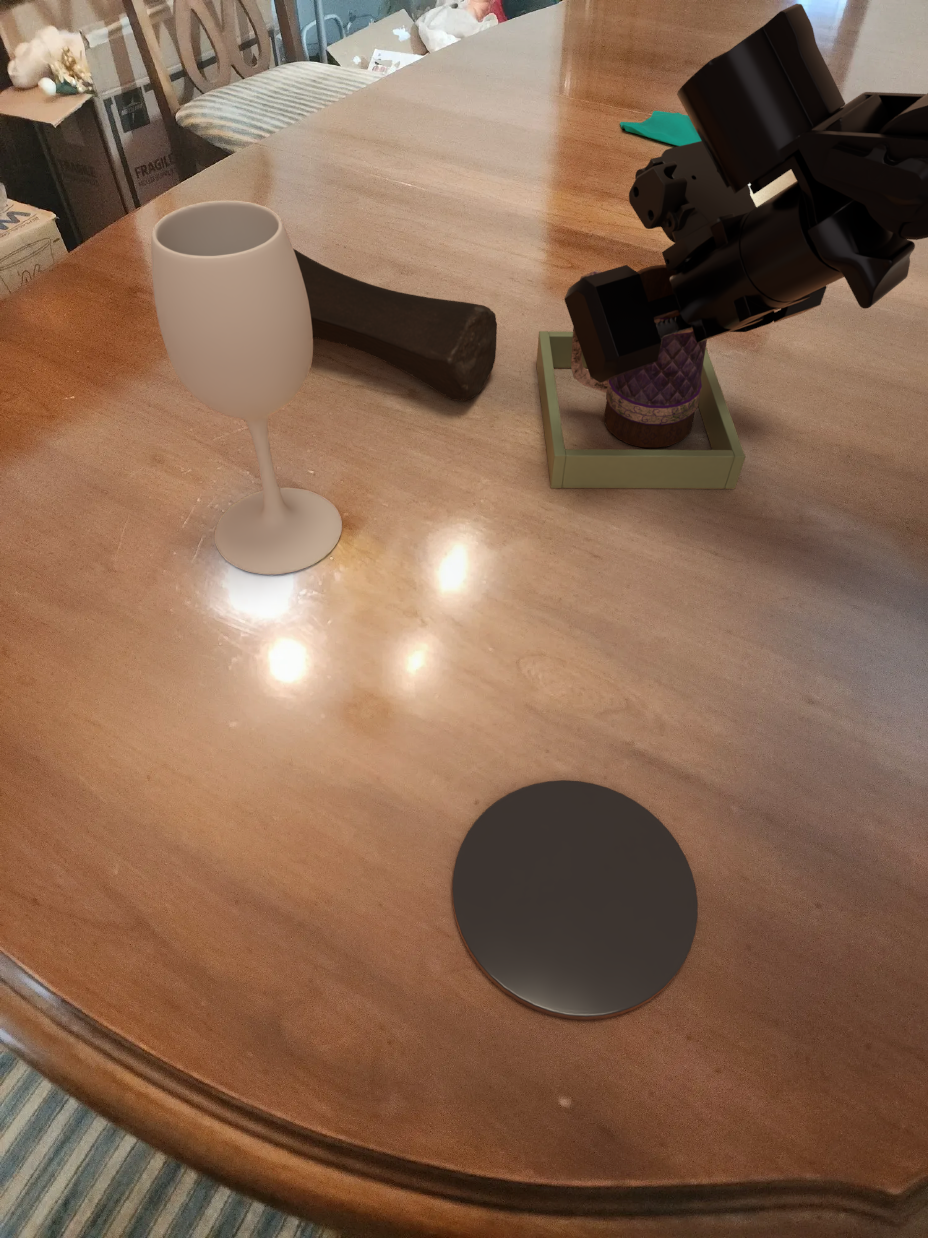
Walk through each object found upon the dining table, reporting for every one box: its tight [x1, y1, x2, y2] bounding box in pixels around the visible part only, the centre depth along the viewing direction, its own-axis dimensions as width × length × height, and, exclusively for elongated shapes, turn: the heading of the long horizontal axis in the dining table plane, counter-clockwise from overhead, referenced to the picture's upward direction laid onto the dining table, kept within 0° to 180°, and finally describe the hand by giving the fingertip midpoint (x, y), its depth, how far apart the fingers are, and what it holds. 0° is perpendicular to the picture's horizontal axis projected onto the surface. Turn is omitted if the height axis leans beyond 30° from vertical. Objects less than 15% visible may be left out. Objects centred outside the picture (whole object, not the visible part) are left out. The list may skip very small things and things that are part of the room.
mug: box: [570, 264, 708, 449], centre depth 63 cm, size 10×7×12 cm
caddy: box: [535, 330, 746, 490], centre depth 67 cm, size 14×17×3 cm
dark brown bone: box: [293, 247, 498, 401], centre depth 71 cm, size 11×10×28 cm
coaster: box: [451, 779, 699, 1021], centre depth 42 cm, size 12×12×1 cm
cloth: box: [619, 110, 702, 147], centre depth 107 cm, size 26×14×2 cm, turn 77°
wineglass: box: [150, 199, 343, 575], centre depth 51 cm, size 9×9×21 cm
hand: (631, 335), depth 64 cm, fingers closed on mug, 7 cm apart
